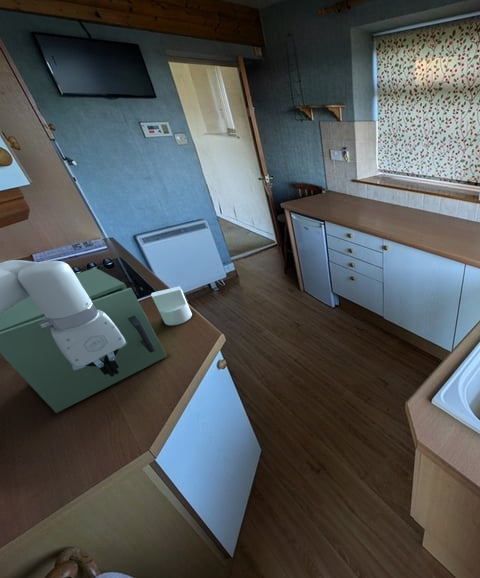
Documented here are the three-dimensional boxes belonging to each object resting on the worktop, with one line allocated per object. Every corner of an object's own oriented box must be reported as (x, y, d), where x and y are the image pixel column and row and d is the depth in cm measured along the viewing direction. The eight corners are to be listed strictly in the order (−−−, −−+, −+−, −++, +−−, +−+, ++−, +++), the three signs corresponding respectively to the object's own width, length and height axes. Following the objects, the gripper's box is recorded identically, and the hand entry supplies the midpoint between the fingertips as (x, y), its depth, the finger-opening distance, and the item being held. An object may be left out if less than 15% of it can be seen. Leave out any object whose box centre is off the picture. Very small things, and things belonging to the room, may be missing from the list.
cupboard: (160, 351, 96) (124, 283, 82) (55, 411, 77) (-16, 336, 63) (132, 332, 103) (95, 267, 90) (30, 383, 84) (-37, 310, 70)
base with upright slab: (164, 328, 105) (150, 301, 99) (164, 315, 112) (151, 289, 105) (192, 320, 110) (181, 293, 103) (190, 308, 116) (180, 282, 110)
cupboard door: (174, 364, 91) (139, 295, 77) (61, 426, 73) (-11, 350, 59) (165, 355, 94) (130, 287, 80) (55, 411, 76) (-14, 336, 63)
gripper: (33, 340, 58) (82, 400, 67) (121, 304, 69) (152, 360, 78) (20, 328, 61) (68, 387, 70) (106, 295, 72) (138, 349, 82)
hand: (112, 372), depth 74 cm, fingers closed
